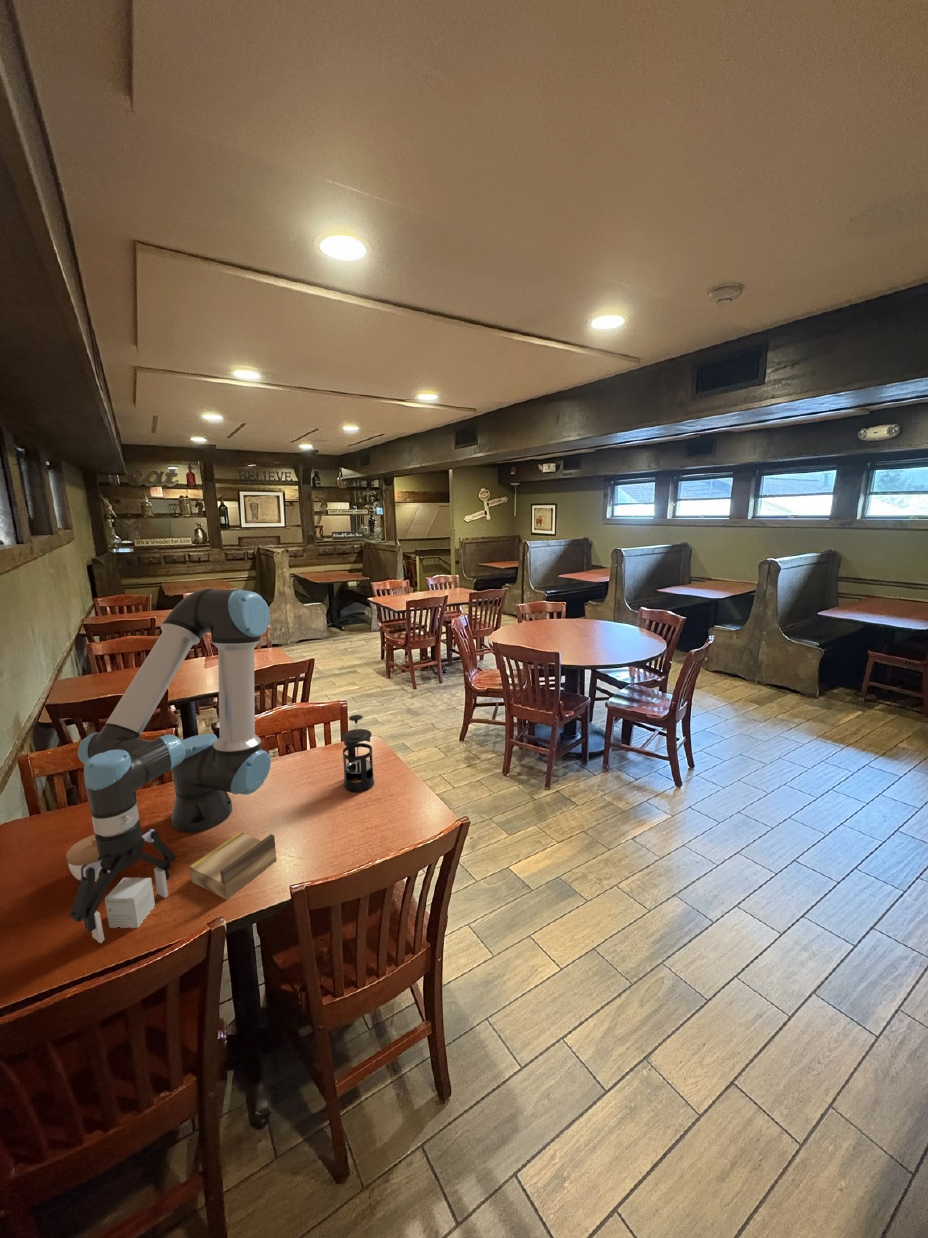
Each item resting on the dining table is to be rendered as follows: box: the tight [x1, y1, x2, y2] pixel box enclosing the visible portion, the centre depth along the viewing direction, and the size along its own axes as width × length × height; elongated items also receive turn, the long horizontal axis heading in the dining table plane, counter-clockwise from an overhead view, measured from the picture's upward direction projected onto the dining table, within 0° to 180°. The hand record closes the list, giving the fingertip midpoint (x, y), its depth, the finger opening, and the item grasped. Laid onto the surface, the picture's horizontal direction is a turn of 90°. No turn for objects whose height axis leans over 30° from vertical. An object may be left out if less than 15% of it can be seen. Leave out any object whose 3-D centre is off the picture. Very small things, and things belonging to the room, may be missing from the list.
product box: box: [104, 876, 156, 929], centre depth 103 cm, size 6×6×7 cm
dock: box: [189, 831, 277, 901], centre depth 116 cm, size 12×14×7 cm
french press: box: [341, 714, 375, 794], centre depth 152 cm, size 12×9×23 cm
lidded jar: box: [65, 833, 110, 882], centre depth 115 cm, size 11×11×9 cm
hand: (132, 916), depth 103 cm, fingers open, 12 cm apart
